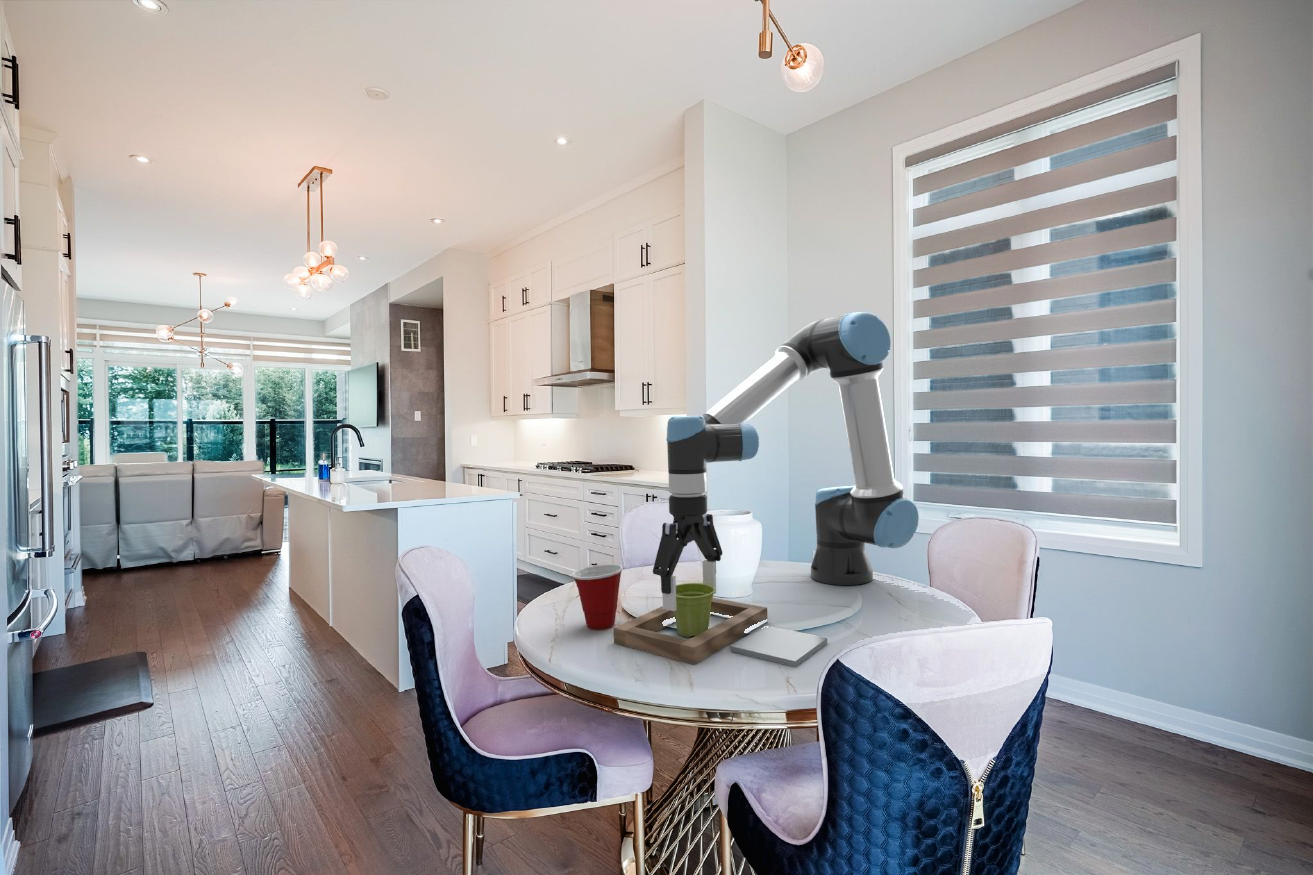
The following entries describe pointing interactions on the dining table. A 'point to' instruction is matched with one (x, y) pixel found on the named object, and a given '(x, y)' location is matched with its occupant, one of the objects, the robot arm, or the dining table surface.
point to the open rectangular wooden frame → (696, 649)
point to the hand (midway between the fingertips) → (690, 600)
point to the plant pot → (693, 608)
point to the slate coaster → (779, 645)
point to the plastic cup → (599, 593)
